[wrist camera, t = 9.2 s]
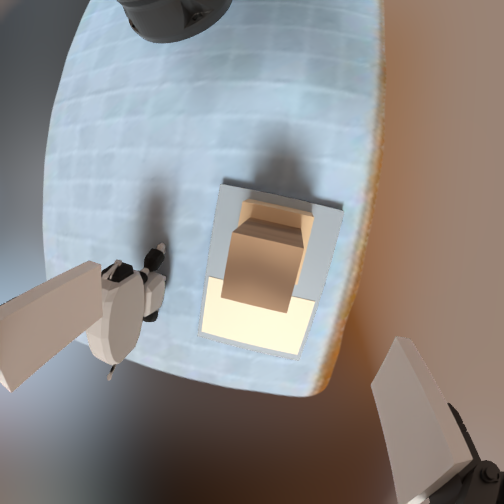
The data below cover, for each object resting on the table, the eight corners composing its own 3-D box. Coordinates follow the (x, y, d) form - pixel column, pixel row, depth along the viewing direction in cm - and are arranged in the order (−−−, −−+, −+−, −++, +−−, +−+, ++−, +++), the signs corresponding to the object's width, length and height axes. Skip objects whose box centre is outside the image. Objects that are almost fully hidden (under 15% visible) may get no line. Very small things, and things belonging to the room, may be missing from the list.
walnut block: (250, 217, 27) (232, 232, 19) (301, 228, 26) (304, 248, 18) (240, 265, 28) (220, 297, 20) (289, 277, 27) (286, 313, 20)
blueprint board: (223, 183, 31) (209, 184, 26) (342, 210, 30) (351, 215, 25) (199, 331, 37) (187, 352, 32) (299, 355, 35) (298, 379, 31)
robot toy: (147, 232, 34) (68, 265, 20) (178, 241, 34) (106, 281, 20) (140, 312, 38) (78, 368, 23) (167, 322, 37) (111, 387, 23)
